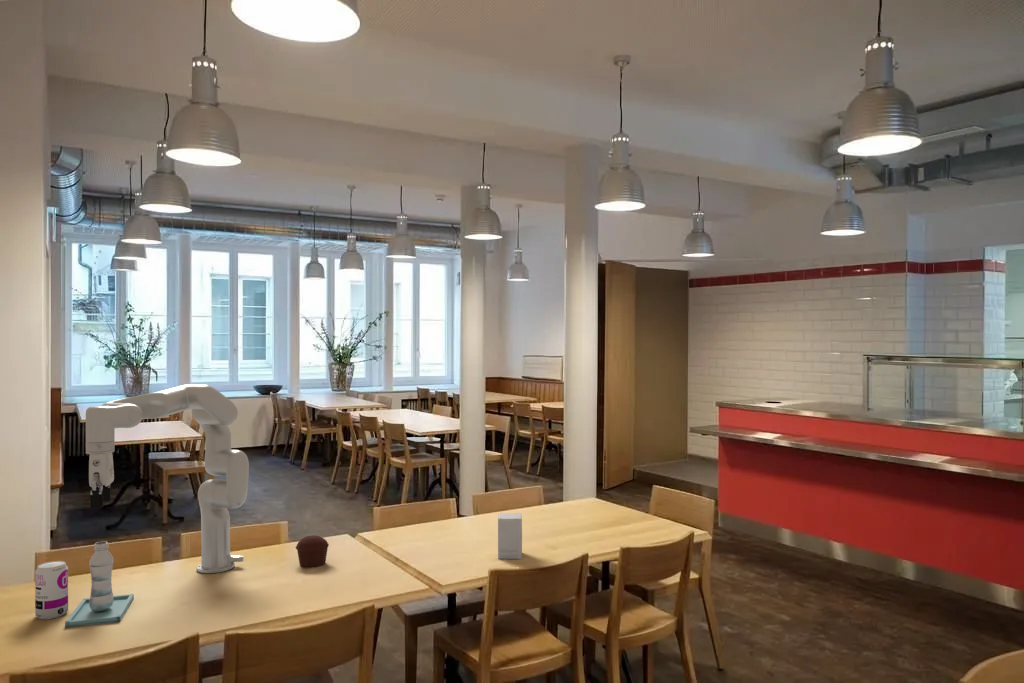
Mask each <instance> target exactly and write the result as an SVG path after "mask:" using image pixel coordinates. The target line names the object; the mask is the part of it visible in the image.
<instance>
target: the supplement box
mask: <svg viewBox="0 0 1024 683" xmlns="http://www.w3.org/2000/svg"><path fill="white" fill-rule="evenodd" d="M522 516H523V515H522V513H520V512H519V513H506V512H505V513H502V512H501V513H498V518H497V559H498V560H499V559H501V560H506V559H509V560H510V559H511V560H514V559H515V560H521V559H522V558H523V557H522V556H523V555H522V554H523V519H522V518H523V517H522Z"/></svg>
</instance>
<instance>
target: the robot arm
mask: <svg viewBox="0 0 1024 683" xmlns="http://www.w3.org/2000/svg"><path fill="white" fill-rule="evenodd" d="M187 410H191V416H192V418H193V420H194V421H195V422H196V423H197V424H199V426H200V427H201V428H202V430H203V431H204V435H205V450H204V461H203V462H204V471H205V472H206V473H207V474H208V475H211V476H219V477H226V479H219V478H218V479H217V478H211V479H207V480H205V481H204V482H202V483H201V484H200V486H199V488H198V491H197V500H198V504H199V510H200V527H201V528H200V529H201V530H200V531H201V532H200V533H201V534H200V535H201V536H200V538H201V542H200V544H201V545H200V546H201V548H200V549H201V552H200V553H201V559H200V560H201V563H199V564H198V565H197V566H196V571H197V572H198V573H202V574H218V573H223V572H227V571H230V570H232V569H234V568H235V566H236V563H241V562H244V555H240V554H238V555H234V554H232V553H233V552H232V551H231V517H230V512H229V510H228V509H238V508H240V507H242V506H243V505H244V504H245V502H246V500H247V497H248V491H249V490H248V488H249V476H250V475H249V474H250V473H249V471H250V461H249V458H248V455H247V454H246V453H245V452H244V451H243V450H239V449H232V434H231V433H232V432H231V429H230V427H229V425H232V424H234V423H235V421H236V420H237V418H238V413H239V412H238V408H237V406H236V404H235V403H234V402H233V401H232V400H231V399H229V398H228V397H227V396H225V395H224V394H223V393H221V392H220V390H218V389H216V388H214V387H213V386H211V385H208V384H200V383H199V384H197V383H196V384H195V383H193V384H192V383H191V384H190V383H189V384H182V385H178V386H175V387H170V388H167V389H163V390H158V391H155V392H149V393H143V394H139V395H135V396H134V395H133V396H127V397H124V398H118V399H116V400H111V401H108V402H104V403H103V404H102V405H95V406H89V407H87V408H86V410H85V454H86V455H89V456H88V457H89V460H88V484H89V487H91V488H90V493H89V494H90V499H89V502H90V503H89V504H90V509H93V510H94V509H102V508H104V502H110V501H111V500H112V499H111V498H112V496H111V495H112V494H111V489H112V488H111V484H112V483H113V482H114V480H115V470H114V458H113V457H114V455H113V453H114V452H115V450H116V449H115V448H116V447H115V444H116V443H115V439H116V438H115V437H116V436H115V431H116V430H115V429H131V428H135V427H136V426H138V425H139V424H141V422H142V421H143V419H158V418H165V417H168V416H171V415H175V414H177V413H178V414H179V413H182V412H184V411H187Z"/></svg>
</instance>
